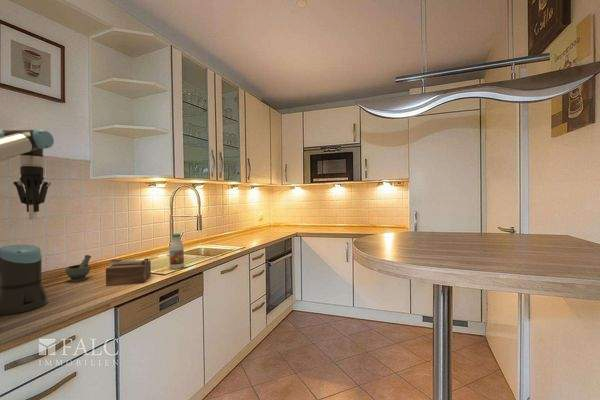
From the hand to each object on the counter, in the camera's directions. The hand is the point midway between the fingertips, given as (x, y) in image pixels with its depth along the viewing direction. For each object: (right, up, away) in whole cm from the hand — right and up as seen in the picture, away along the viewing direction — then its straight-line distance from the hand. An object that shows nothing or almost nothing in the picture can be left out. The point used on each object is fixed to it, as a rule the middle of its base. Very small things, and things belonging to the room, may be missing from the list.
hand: (33, 219), depth 126 cm
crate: (+33, -32, +17) cm, 49 cm away
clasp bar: (+32, -23, +17) cm, 43 cm away
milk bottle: (+46, -32, +41) cm, 69 cm away
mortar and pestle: (+7, -32, +18) cm, 38 cm away
